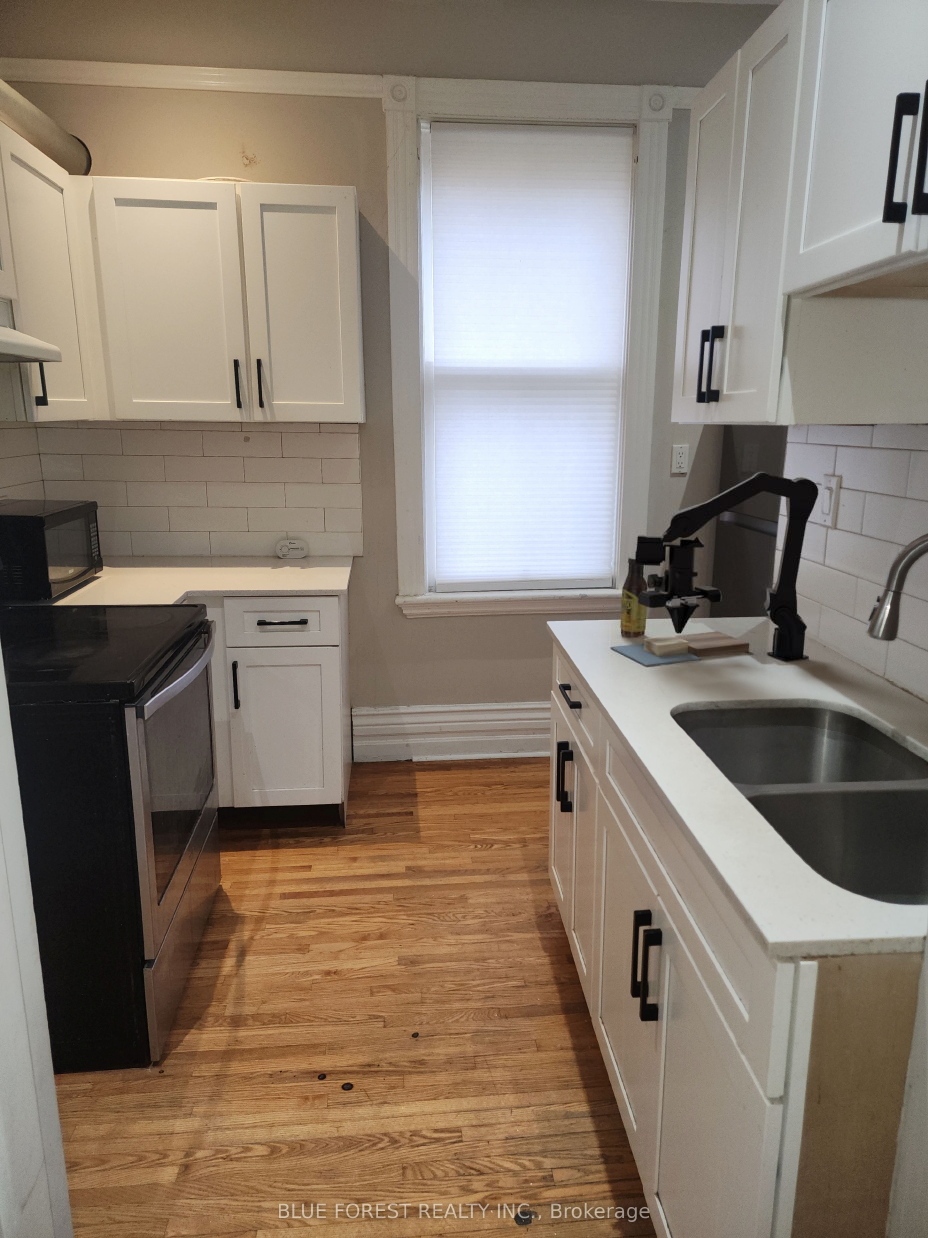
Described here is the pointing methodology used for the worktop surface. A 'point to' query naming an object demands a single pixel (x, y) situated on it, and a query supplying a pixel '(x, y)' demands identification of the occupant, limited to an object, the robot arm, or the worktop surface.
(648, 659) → the rubber mat
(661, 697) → the worktop surface
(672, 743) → the worktop surface
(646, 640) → the beech tile
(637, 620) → the sauce bottle
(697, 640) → the walnut board
